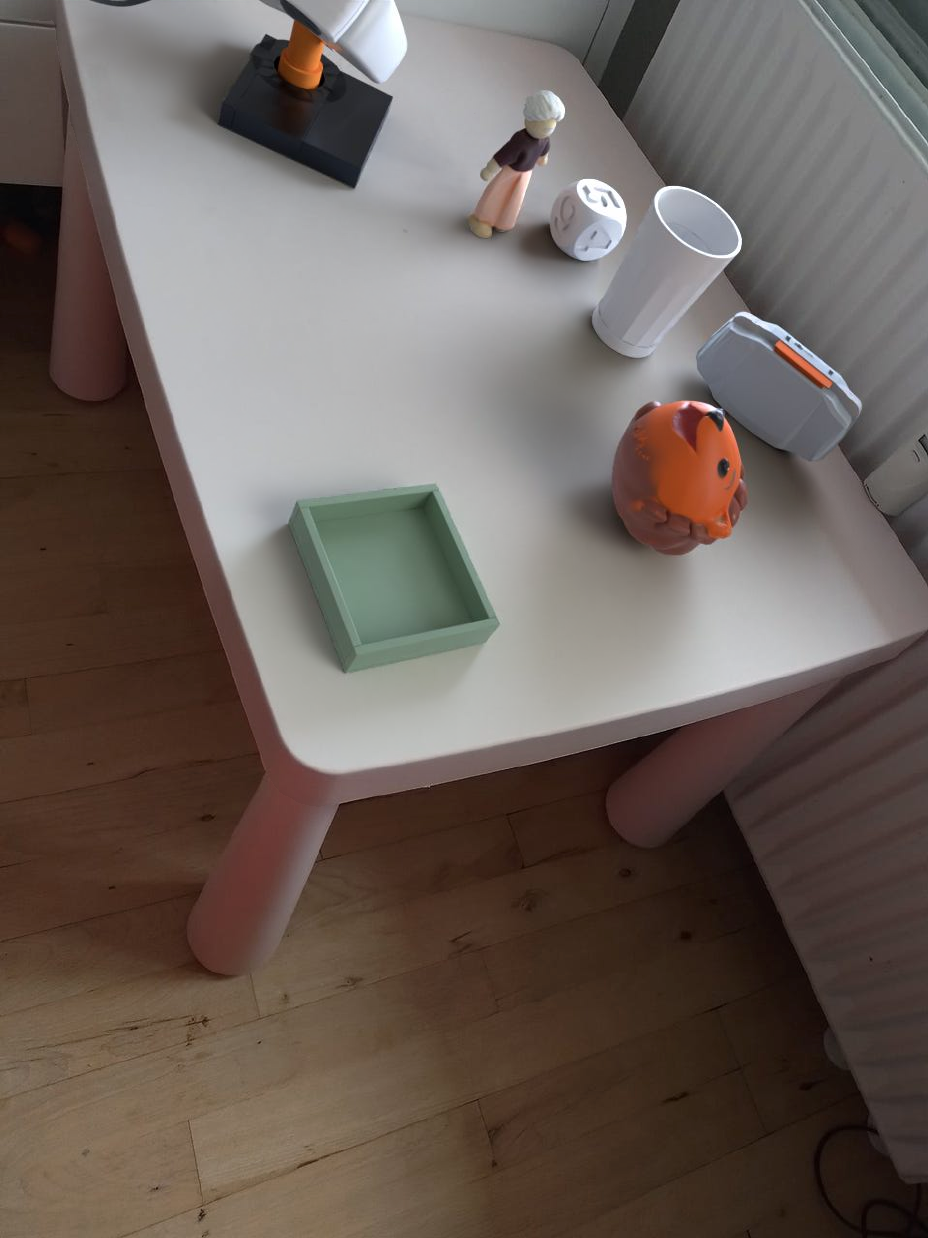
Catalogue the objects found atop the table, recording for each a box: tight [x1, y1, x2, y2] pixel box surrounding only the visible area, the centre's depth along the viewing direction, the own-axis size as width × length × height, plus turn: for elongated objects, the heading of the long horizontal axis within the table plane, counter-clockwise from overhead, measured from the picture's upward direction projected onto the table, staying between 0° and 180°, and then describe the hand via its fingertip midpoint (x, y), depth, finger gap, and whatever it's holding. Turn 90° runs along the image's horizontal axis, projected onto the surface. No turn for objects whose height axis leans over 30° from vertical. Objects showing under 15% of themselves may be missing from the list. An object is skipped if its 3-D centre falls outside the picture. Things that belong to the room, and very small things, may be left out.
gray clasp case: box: [695, 311, 863, 463], centre depth 84 cm, size 14×3×8 cm, turn 56°
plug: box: [277, 19, 325, 89], centre depth 81 cm, size 4×4×12 cm
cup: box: [591, 185, 742, 359], centre depth 82 cm, size 8×8×12 cm
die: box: [549, 178, 627, 262], centre depth 88 cm, size 5×5×5 cm
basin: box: [287, 483, 501, 674], centre depth 63 cm, size 11×10×2 cm
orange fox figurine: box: [611, 400, 749, 557], centre depth 71 cm, size 12×10×11 cm
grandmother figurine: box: [466, 89, 566, 239], centre depth 82 cm, size 8×4×13 cm, turn 143°
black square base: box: [217, 33, 394, 189], centre depth 84 cm, size 12×13×2 cm
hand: (315, 24), depth 81 cm, fingers closed on plug, 3 cm apart
